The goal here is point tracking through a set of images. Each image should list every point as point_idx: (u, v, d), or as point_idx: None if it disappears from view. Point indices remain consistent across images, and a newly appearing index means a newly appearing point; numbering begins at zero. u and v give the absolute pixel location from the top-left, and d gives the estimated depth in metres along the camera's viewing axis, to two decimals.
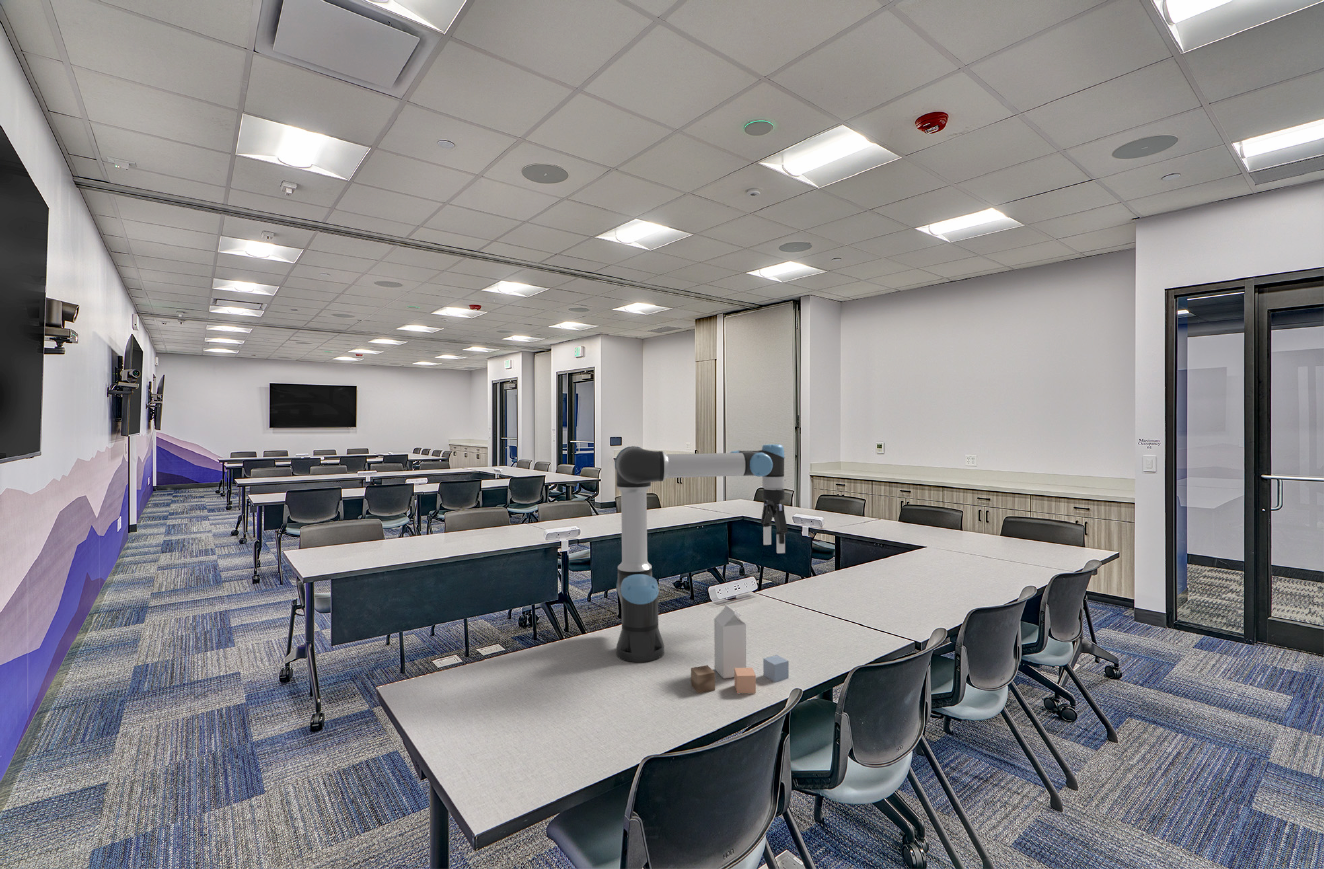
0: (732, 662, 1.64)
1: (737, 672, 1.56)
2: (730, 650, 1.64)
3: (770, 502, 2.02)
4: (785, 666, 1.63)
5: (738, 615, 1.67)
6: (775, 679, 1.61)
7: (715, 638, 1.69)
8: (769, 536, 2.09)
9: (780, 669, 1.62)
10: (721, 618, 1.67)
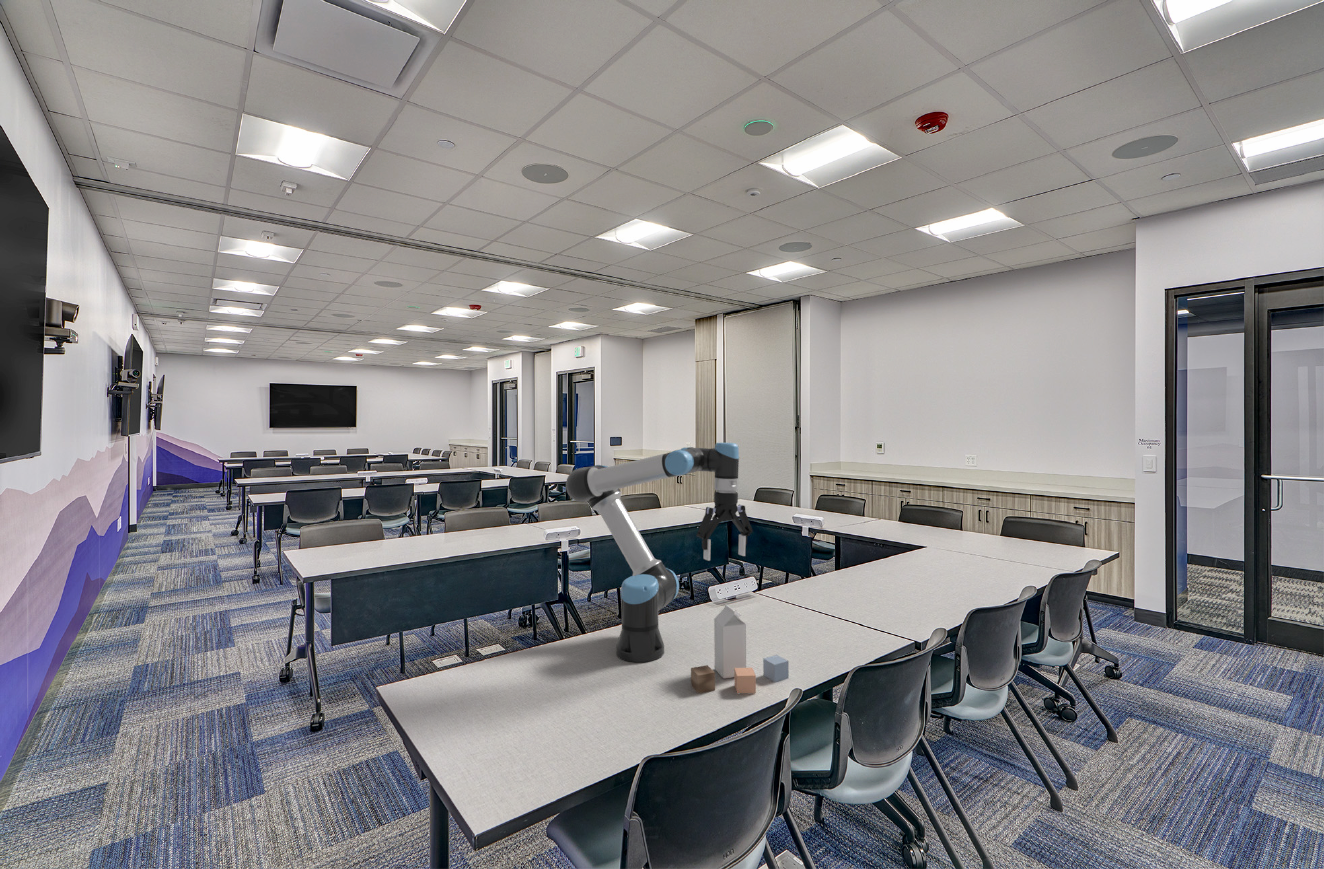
0: (732, 662, 1.64)
1: (737, 672, 1.56)
2: (730, 650, 1.64)
3: None
4: (785, 666, 1.63)
5: (738, 615, 1.67)
6: (775, 679, 1.61)
7: (715, 638, 1.69)
8: (742, 546, 1.87)
9: (780, 669, 1.62)
10: (721, 618, 1.67)
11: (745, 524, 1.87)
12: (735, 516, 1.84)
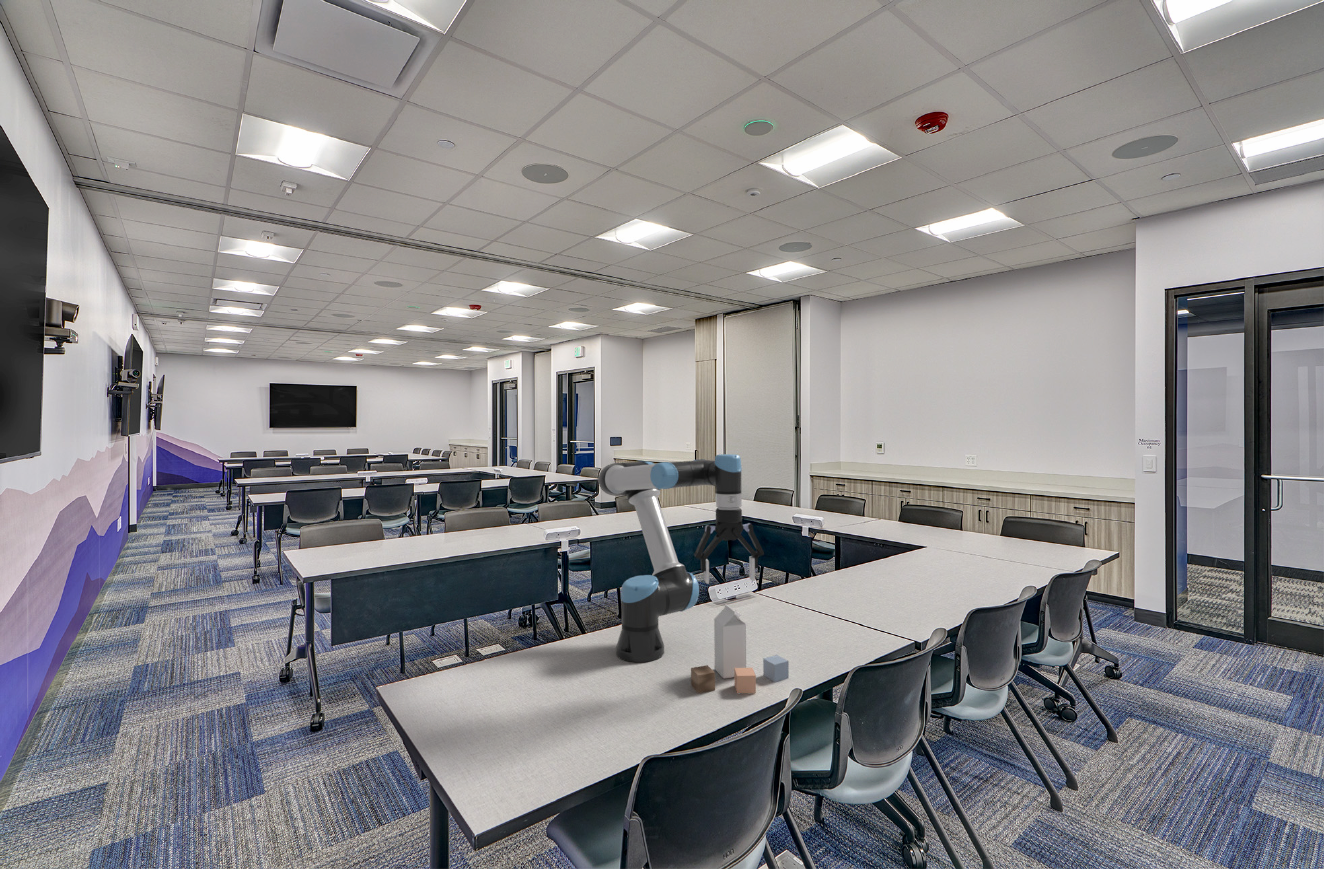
0: (732, 662, 1.64)
1: (737, 672, 1.56)
2: (730, 650, 1.64)
3: None
4: (785, 666, 1.63)
5: (738, 615, 1.67)
6: (775, 679, 1.61)
7: (715, 638, 1.69)
8: (751, 570, 1.67)
9: (780, 669, 1.62)
10: (721, 618, 1.67)
11: (755, 544, 1.68)
12: (739, 536, 1.65)
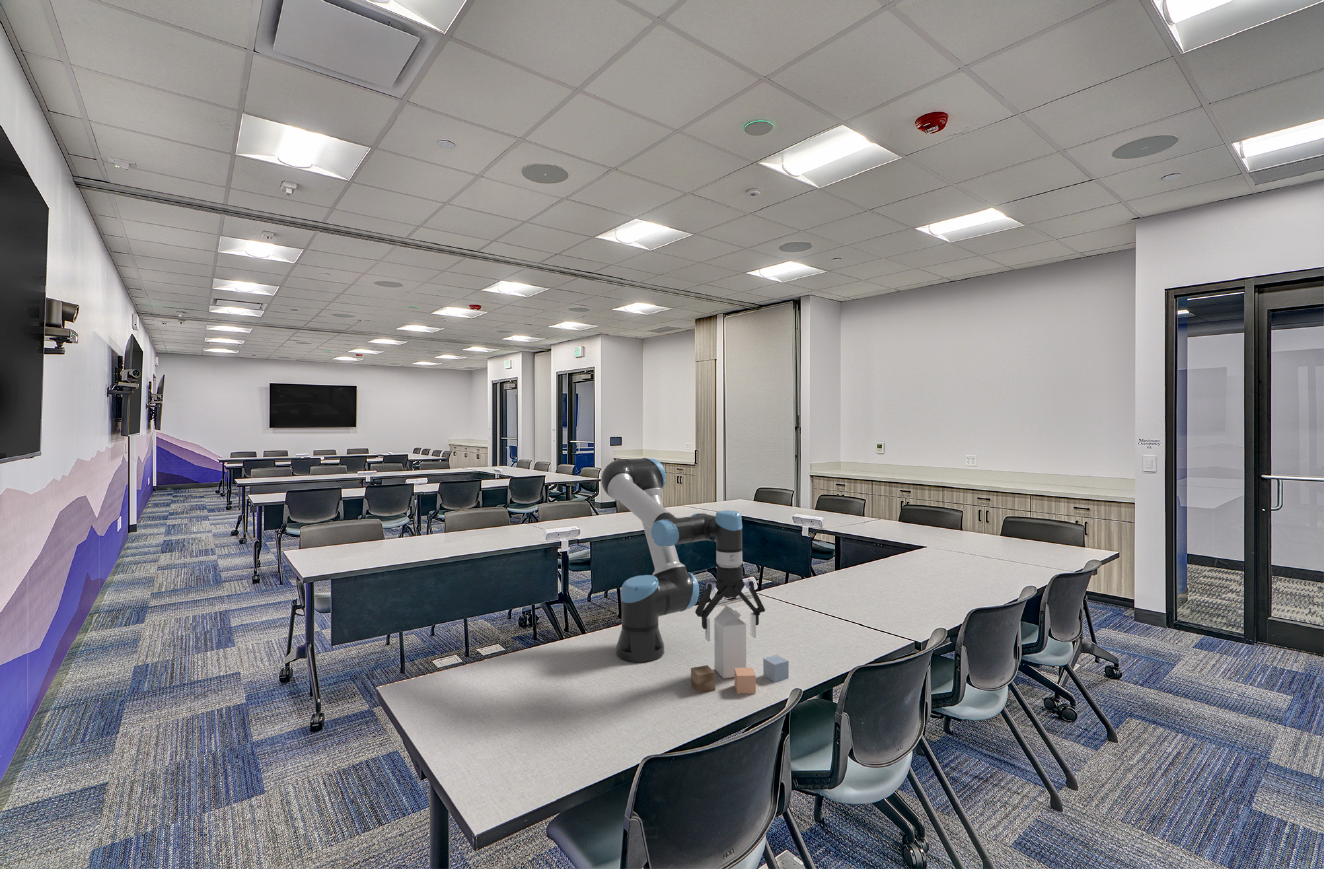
0: (732, 662, 1.64)
1: (737, 672, 1.56)
2: (730, 650, 1.64)
3: None
4: (785, 666, 1.63)
5: (738, 615, 1.67)
6: (775, 679, 1.61)
7: (715, 638, 1.69)
8: (752, 626, 1.67)
9: (780, 669, 1.62)
10: (721, 618, 1.67)
11: (756, 601, 1.68)
12: (740, 593, 1.66)
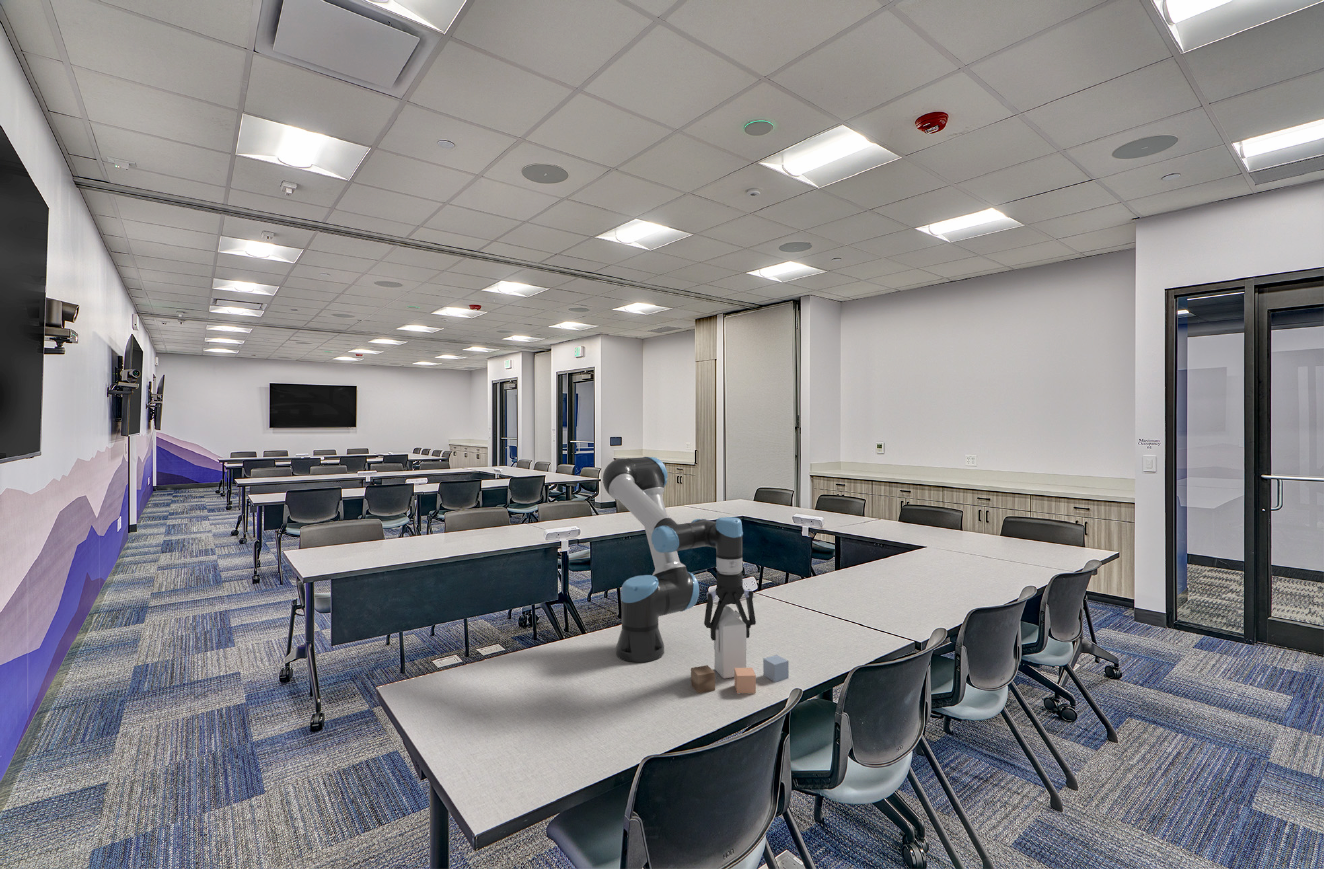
0: (732, 662, 1.64)
1: (737, 672, 1.56)
2: (730, 650, 1.64)
3: None
4: (785, 666, 1.63)
5: (738, 615, 1.67)
6: (775, 679, 1.61)
7: None
8: None
9: (780, 669, 1.62)
10: (721, 618, 1.67)
11: (749, 612, 1.68)
12: (738, 601, 1.66)
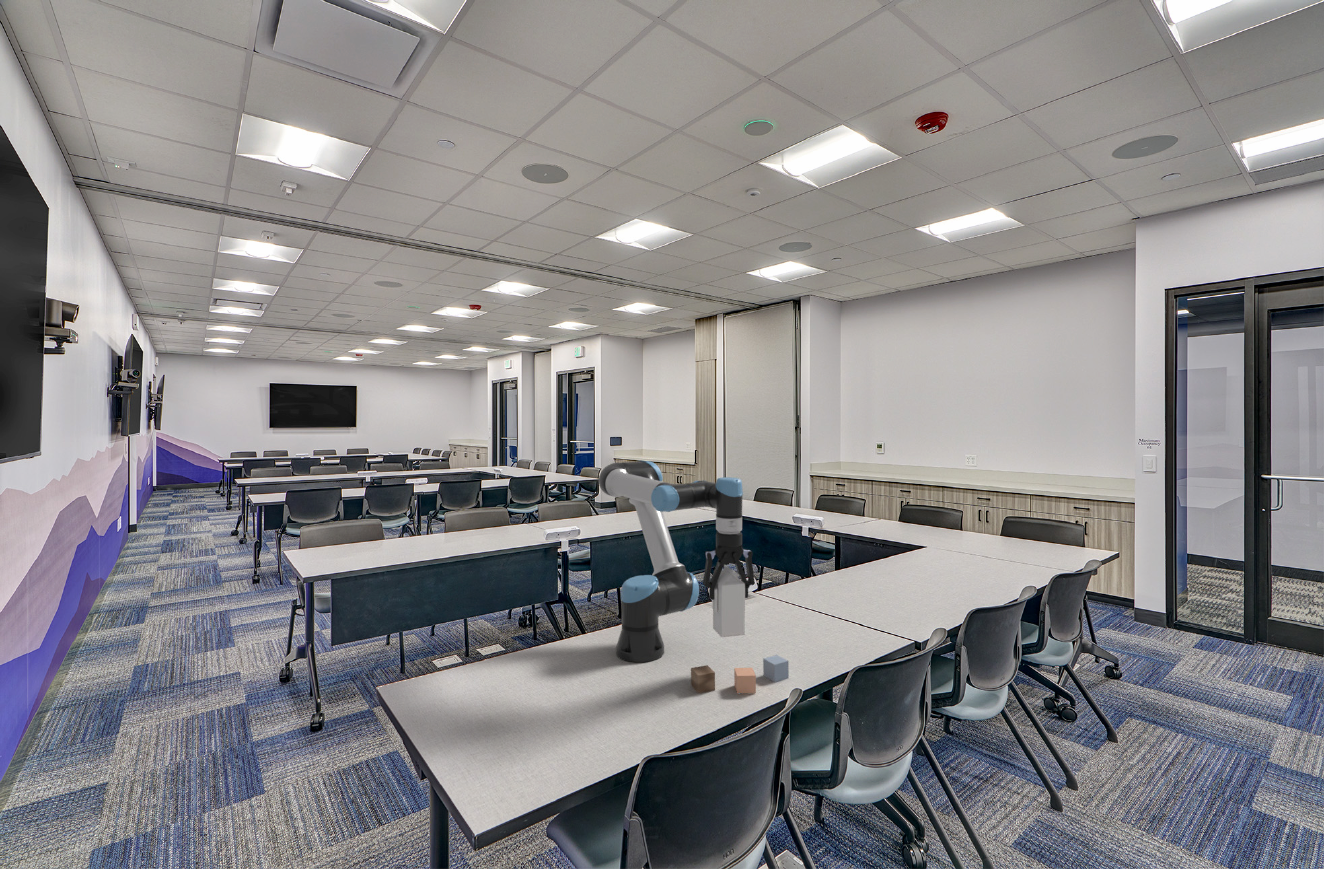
0: (731, 621, 1.64)
1: (737, 672, 1.56)
2: (729, 609, 1.64)
3: None
4: (785, 666, 1.63)
5: (737, 575, 1.67)
6: (775, 679, 1.61)
7: None
8: None
9: (780, 669, 1.62)
10: (720, 578, 1.67)
11: (748, 572, 1.68)
12: (737, 561, 1.66)
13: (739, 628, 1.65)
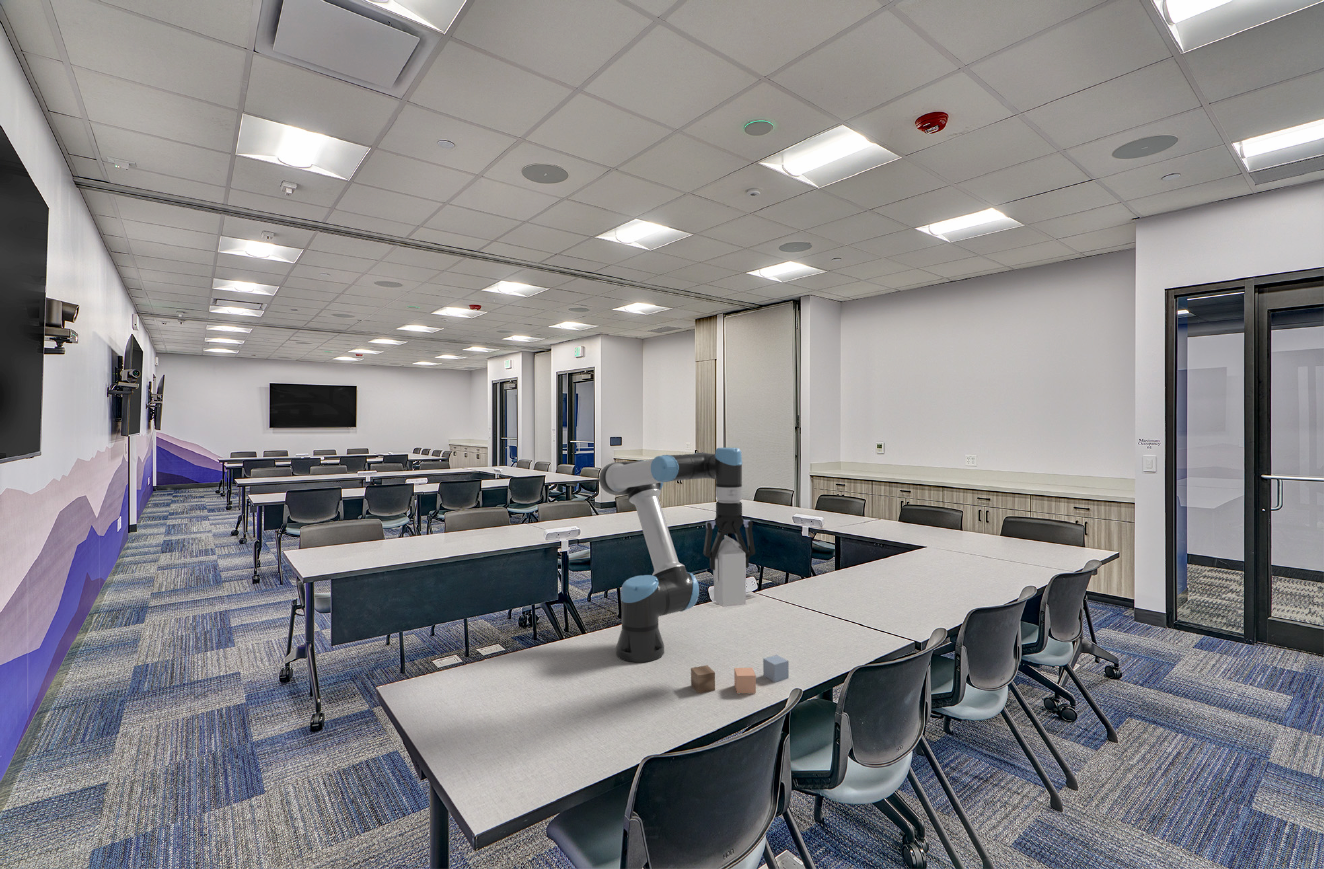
0: (731, 590, 1.63)
1: (737, 672, 1.56)
2: (730, 578, 1.63)
3: None
4: (785, 666, 1.63)
5: (737, 545, 1.66)
6: (775, 679, 1.61)
7: None
8: None
9: (780, 669, 1.62)
10: (720, 548, 1.66)
11: (749, 542, 1.67)
12: (737, 530, 1.65)
13: (740, 598, 1.64)
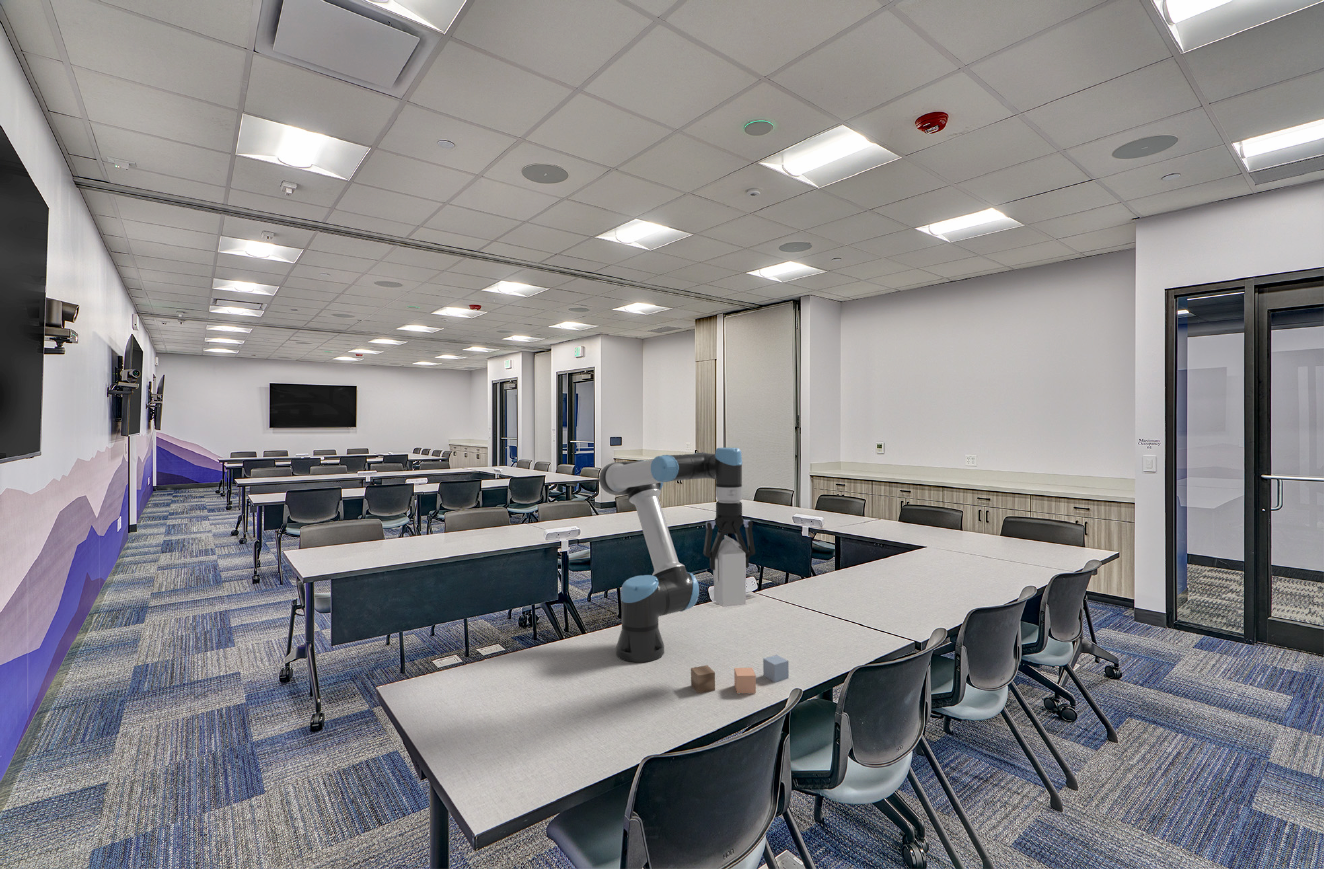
0: (731, 590, 1.63)
1: (737, 672, 1.56)
2: (730, 578, 1.63)
3: None
4: (785, 666, 1.63)
5: (737, 545, 1.66)
6: (775, 679, 1.61)
7: None
8: None
9: (780, 669, 1.62)
10: (720, 548, 1.66)
11: (749, 542, 1.67)
12: (737, 530, 1.65)
13: (740, 598, 1.64)
